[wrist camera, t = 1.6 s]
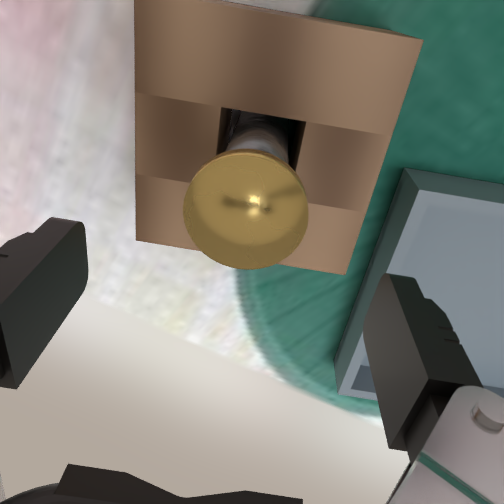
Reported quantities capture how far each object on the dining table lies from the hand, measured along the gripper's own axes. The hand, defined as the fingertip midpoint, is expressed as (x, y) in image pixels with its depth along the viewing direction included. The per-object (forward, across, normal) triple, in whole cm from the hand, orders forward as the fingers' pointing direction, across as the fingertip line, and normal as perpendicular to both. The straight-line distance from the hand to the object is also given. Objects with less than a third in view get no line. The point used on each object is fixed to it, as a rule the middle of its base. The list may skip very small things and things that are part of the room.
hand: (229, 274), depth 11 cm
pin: (+16, 0, 0) cm, 16 cm away
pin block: (+16, 0, 0) cm, 16 cm away
